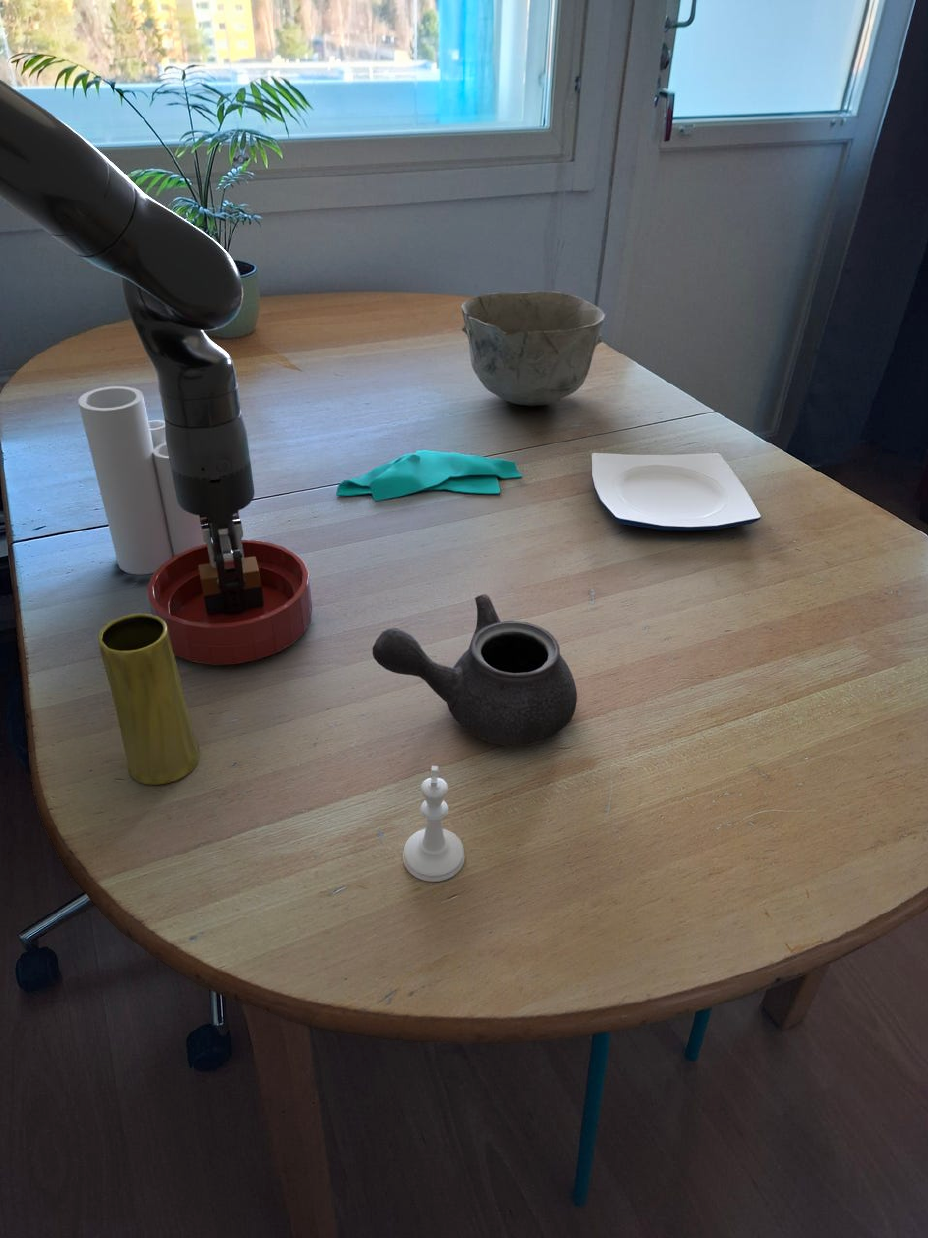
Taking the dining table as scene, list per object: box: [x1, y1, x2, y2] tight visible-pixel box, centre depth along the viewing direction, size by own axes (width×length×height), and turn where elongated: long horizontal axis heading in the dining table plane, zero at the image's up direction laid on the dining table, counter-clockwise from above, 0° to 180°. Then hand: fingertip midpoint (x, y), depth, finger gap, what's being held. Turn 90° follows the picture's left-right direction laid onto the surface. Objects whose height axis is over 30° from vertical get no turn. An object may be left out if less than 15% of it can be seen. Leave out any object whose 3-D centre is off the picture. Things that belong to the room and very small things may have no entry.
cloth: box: [335, 449, 523, 502], centre depth 122 cm, size 26×14×2 cm, turn 97°
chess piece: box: [402, 765, 466, 883], centre depth 67 cm, size 5×5×10 cm
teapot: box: [372, 593, 578, 747], centre depth 81 cm, size 19×15×10 cm
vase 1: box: [77, 385, 206, 576], centre depth 98 cm, size 11×7×20 cm, turn 112°
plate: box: [590, 452, 762, 532], centre depth 118 cm, size 20×20×3 cm
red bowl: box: [146, 539, 313, 666], centre depth 92 cm, size 16×16×6 cm
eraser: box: [198, 557, 264, 614], centre depth 94 cm, size 6×3×4 cm, turn 109°
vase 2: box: [97, 613, 201, 786], centre depth 73 cm, size 6×6×14 cm
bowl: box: [460, 290, 606, 407], centre depth 141 cm, size 22×22×15 cm
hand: (233, 601), depth 95 cm, fingers closed on eraser, 3 cm apart
